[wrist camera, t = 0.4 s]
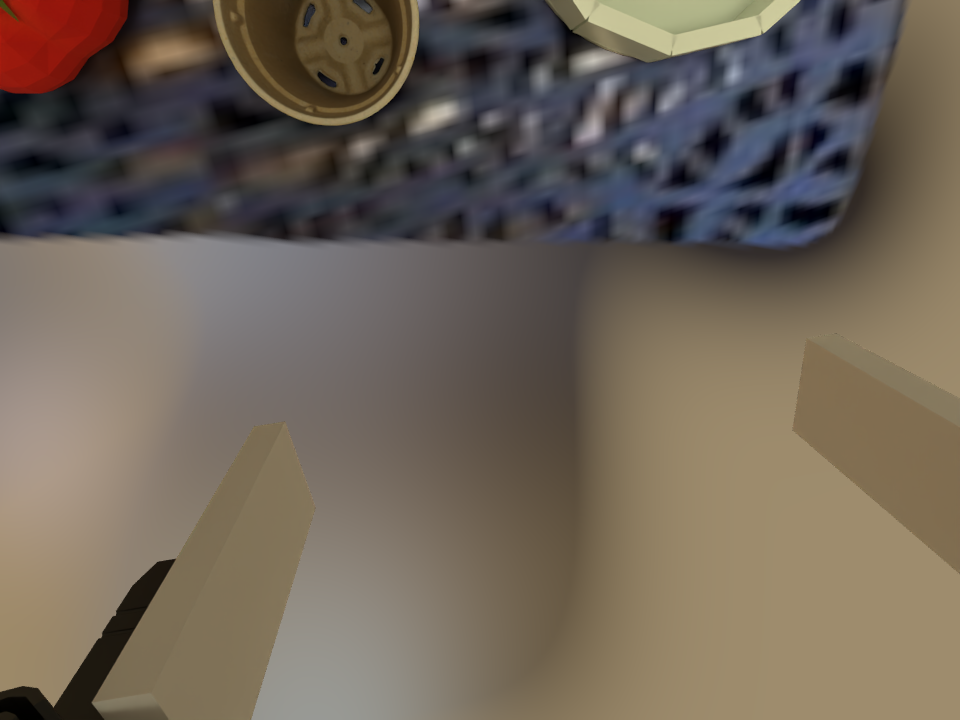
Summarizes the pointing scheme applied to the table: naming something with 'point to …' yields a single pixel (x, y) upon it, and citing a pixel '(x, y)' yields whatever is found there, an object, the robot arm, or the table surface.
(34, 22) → the tomato
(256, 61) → the flower pot
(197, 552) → the robot arm
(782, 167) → the table surface
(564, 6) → the bowl
